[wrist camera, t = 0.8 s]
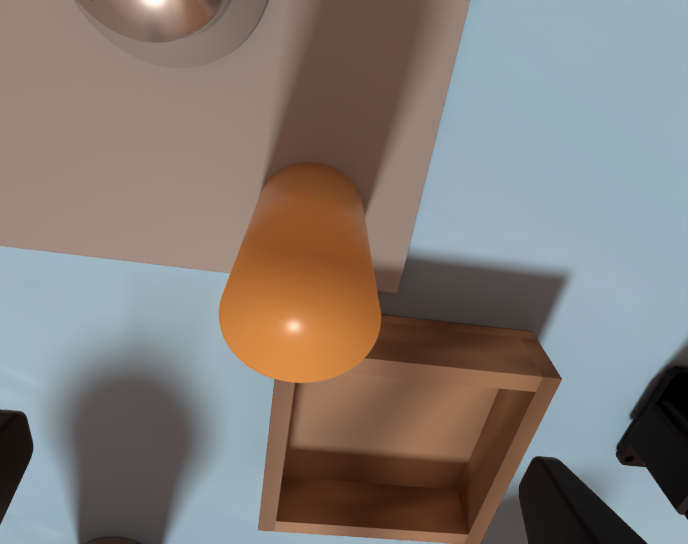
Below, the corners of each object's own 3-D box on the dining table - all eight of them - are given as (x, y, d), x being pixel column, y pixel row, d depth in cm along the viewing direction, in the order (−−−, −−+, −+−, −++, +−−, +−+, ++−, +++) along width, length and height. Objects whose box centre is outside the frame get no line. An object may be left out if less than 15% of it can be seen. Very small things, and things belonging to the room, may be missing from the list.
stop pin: (372, 170, 17) (396, 260, 11) (354, 266, 19) (365, 389, 13) (261, 154, 17) (221, 238, 10) (254, 254, 18) (216, 374, 12)
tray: (532, 331, 21) (561, 379, 19) (464, 490, 27) (479, 545, 24) (284, 303, 20) (278, 349, 17) (265, 475, 26) (257, 530, 23)
